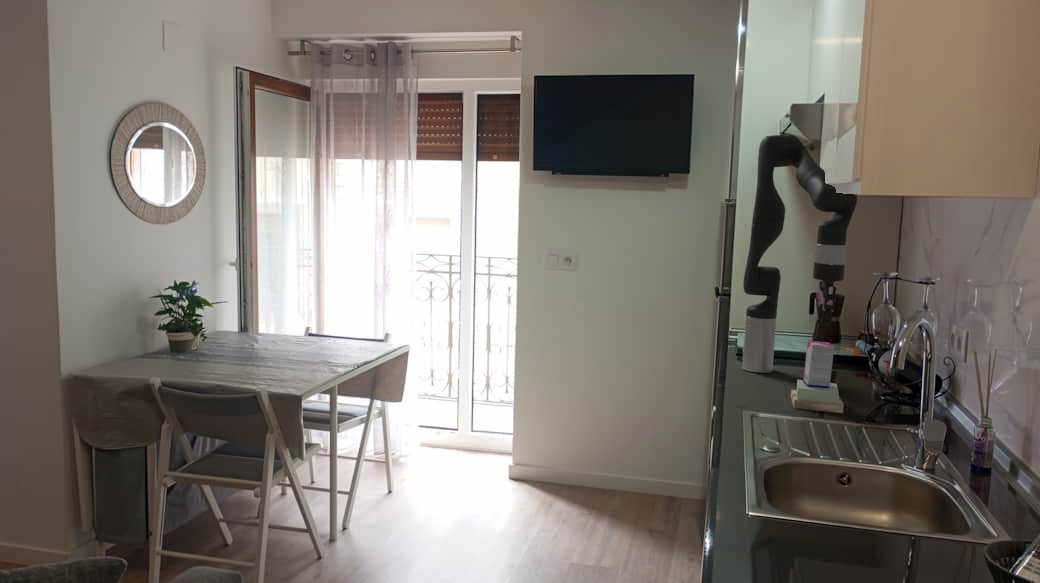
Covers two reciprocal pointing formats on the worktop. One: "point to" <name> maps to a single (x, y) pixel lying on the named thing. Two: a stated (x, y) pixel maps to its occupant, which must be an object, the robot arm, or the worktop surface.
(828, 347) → the supplement box
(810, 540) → the worktop surface
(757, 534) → the worktop surface
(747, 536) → the worktop surface
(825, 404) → the birch slab
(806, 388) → the sage slab
